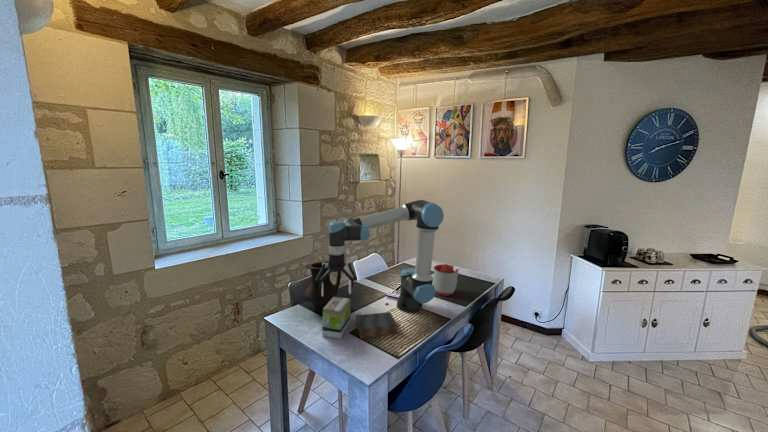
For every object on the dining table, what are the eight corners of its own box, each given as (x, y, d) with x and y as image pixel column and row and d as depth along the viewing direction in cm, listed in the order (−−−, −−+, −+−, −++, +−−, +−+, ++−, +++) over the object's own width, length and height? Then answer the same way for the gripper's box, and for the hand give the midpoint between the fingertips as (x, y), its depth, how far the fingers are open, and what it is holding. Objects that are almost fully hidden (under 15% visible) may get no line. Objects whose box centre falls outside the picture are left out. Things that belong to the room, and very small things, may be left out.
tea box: (341, 339, 154) (341, 311, 151) (321, 336, 156) (321, 308, 153) (350, 323, 168) (350, 297, 166) (332, 321, 170) (332, 295, 168)
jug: (307, 318, 172) (306, 266, 166) (302, 304, 189) (301, 255, 183) (345, 312, 180) (345, 261, 175) (336, 298, 197) (336, 252, 191)
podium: (389, 319, 174) (390, 311, 173) (397, 334, 160) (398, 325, 159) (355, 322, 170) (355, 314, 169) (360, 338, 155) (360, 329, 154)
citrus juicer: (463, 296, 206) (465, 266, 202) (439, 299, 200) (441, 269, 197) (450, 286, 221) (452, 258, 217) (428, 289, 215) (429, 261, 211)
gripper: (310, 256, 148) (310, 299, 152) (363, 254, 154) (362, 295, 158) (310, 251, 155) (310, 292, 159) (360, 249, 161) (359, 289, 165)
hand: (336, 294), depth 158 cm, fingers open, 13 cm apart
